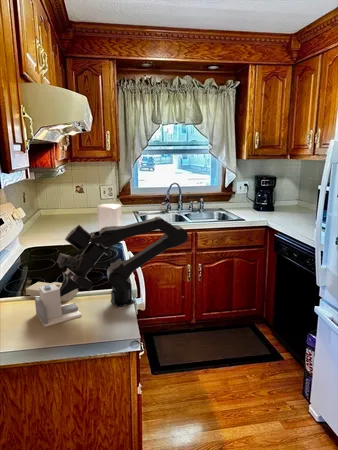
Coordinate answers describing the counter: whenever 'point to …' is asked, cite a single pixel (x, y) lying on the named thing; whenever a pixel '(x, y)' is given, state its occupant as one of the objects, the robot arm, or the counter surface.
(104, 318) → the counter surface
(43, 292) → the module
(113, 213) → the pale rounded upright block
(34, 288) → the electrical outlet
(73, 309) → the board
